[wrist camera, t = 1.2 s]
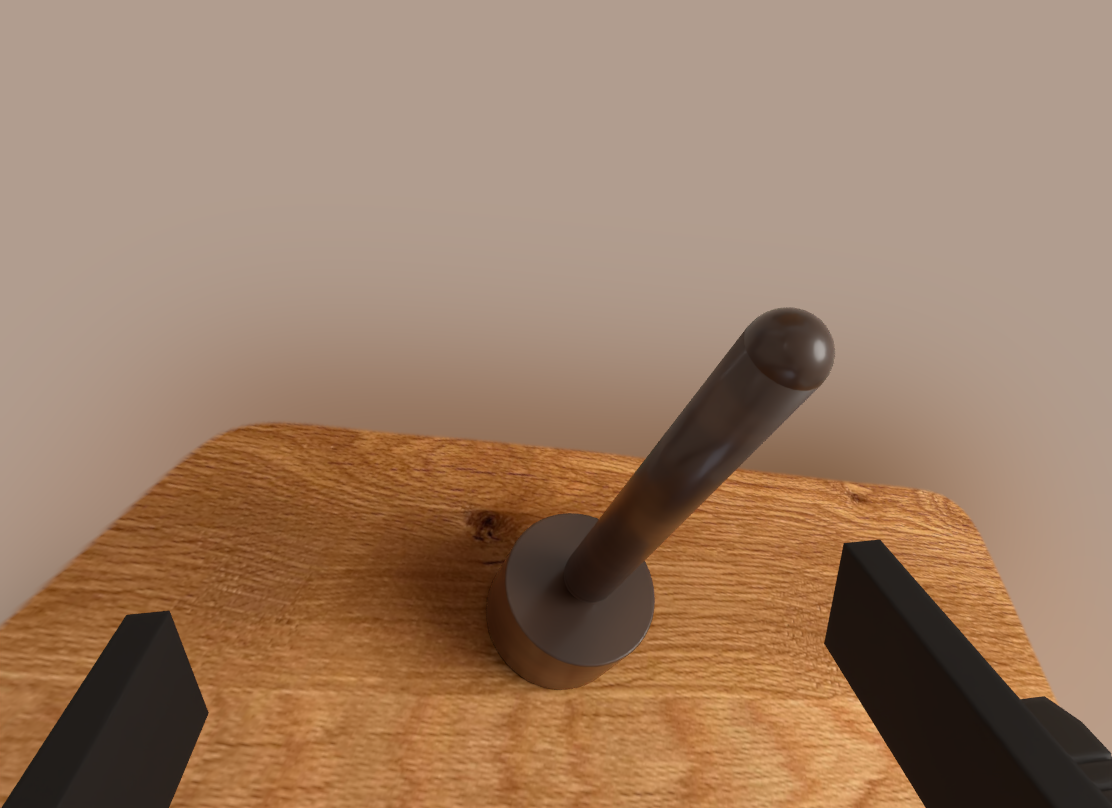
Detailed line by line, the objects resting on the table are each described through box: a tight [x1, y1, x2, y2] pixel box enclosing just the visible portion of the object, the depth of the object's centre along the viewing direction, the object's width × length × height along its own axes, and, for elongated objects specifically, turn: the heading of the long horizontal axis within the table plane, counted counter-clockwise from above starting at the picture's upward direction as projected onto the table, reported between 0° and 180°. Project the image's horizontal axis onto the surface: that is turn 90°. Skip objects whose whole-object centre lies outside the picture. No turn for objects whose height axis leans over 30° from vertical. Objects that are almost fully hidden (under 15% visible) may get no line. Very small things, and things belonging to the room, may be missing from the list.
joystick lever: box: [486, 308, 835, 690], centre depth 21 cm, size 6×6×18 cm
